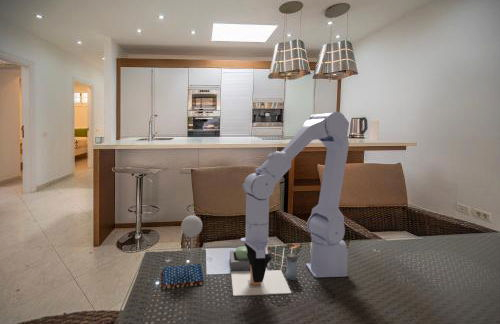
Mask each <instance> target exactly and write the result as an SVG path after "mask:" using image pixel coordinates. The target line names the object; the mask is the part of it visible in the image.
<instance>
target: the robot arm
mask: <svg viewBox="0 0 500 324" xmlns="http://www.w3.org/2000/svg"><path fill="white" fill-rule="evenodd" d="M349 126H350V122H349V120H348V119H347V118H346V117H345V115H344V114H343V113H342V112H340V111H333V112H327V113H313V114H311V115H310V116H309V118H308V119H306V120H305V121H304V122H303V125H302V126H301V127H300V129H299V130H297V132H296V134H294V136H293V137H292V138H291V139H290V141H289V142H288V143H287V144H286V145H285V147H284V148H283V149H282V150H281V151H279V150H277V151H274V152H273V153H272V152H270V153H269V154H268V155H267V159H266V160H265V161H264V162H263V163H262V165H260V166H259V167H257V168H255V170H254V171H255V172H253V173H250V174H248V175H247V176H246V177H245V179H244V182H243V183H242V185H241V186H242V189H243V191H244V194H245V195H246V196H245V200H246V201H245V202H246V203H245V237H241V238H240V243H241V244H244V246H246V248H247V251H248V253H247V257H248V259H249V263H250V267H251V268H252V275H253V280H254V282H263V279H264V275H265V271H267V267H268V265H269V264H270V261H272V255H271V253H266V249H267V247H268V246H269V243H270V239H269V222H270V221H269V218H270V215H269V214H270V196H272V195H273V194H274V191H275V186H276V185H277V183H278V182H279V181H280V180H281V178H283V177H284V175H285V174H286V173H287V172H288V171H289V170H290V169H291V168H292V160H293V159H295V158H296V156H297V155H298V154H300V152H301V151H303V150H304V149H305V148H306V147H307V146H308V145H309V144H310V143H312V141H314V140H318V141H320V142H321V143H322V144H323V146H325V148H326V149H327V150H326V155H325V161H324V168H323V174H322V179H321V185H320V191H319V198H318V204H317V205H315V206H314V207H312V208H311V214H310V216H309V218H308V219H307V222H306V227H307V230H308V233H310V237H311V248H310V262H308V263H306V264H305V266H306V267H307V269H308V270H309V272H310V273H311V275H312V276H313V277H314V278H317V279H318V278H336V277H337V278H339V277H340V278H343V277H348V276H349V275H348V273H347V272H348V258H349V257H348V254H349V253H348V252H349V251H348V246H347V243H346V242H345V241H344V240H343V239H344V237H345V234H346V231H345V230H346V229H345V228H346V227H345V216H344V214H343V213H342V211H341V210H340V208H339V206H340V201H341V195H342V188H343V182H344V178H345V177H344V176H345V171H346V164H347V159H348V152H349V149H350V148H349V147H350V146H349V145H350V142H349V135H348V133H349Z"/></svg>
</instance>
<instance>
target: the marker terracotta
mask: <svg viewBox="0 0 500 324" xmlns="http://www.w3.org/2000/svg"><path fill="white" fill-rule="evenodd" d="M249 271H250V284H251V285H252V286H260V285H261V282H254V280H253V275H252V268H251V267H250V270H249Z"/></svg>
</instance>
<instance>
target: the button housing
mask: <svg viewBox="0 0 500 324" xmlns="http://www.w3.org/2000/svg"><path fill="white" fill-rule="evenodd" d="M229 263H230V272H239V271H250V263H249V260H236V250H229Z"/></svg>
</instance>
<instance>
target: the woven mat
mask: <svg viewBox="0 0 500 324" xmlns="http://www.w3.org/2000/svg"><path fill="white" fill-rule="evenodd" d="M203 275H204V274H203V271H202V266H201V263H193V264H192V265H191V264H189V263H187V264H185V265H184V264H182V265H178V264H177V265H175V266H173V265H171V266H165V267H163V269H162V271H161V281H162V282H161V285H160V286H161V288H162V290H166V289H168V290H169V289H175V288H177V289H178V288H180V287H181V288H184V287H189V286H190V287H193V286H195V287H197V286H198V285H197V284H199V285H200V286H203V283H205V281H204V276H203Z"/></svg>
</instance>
